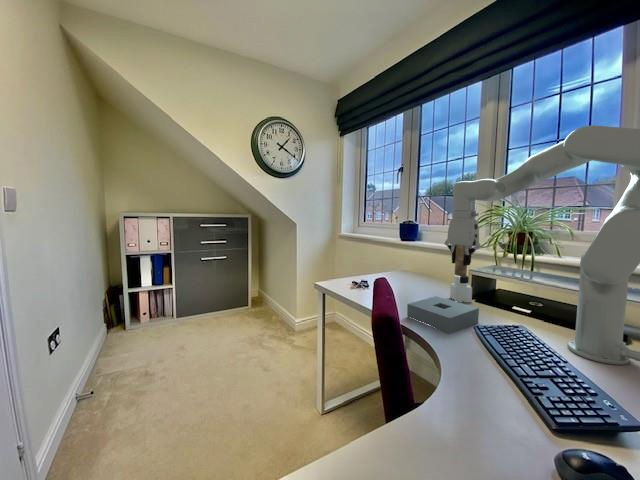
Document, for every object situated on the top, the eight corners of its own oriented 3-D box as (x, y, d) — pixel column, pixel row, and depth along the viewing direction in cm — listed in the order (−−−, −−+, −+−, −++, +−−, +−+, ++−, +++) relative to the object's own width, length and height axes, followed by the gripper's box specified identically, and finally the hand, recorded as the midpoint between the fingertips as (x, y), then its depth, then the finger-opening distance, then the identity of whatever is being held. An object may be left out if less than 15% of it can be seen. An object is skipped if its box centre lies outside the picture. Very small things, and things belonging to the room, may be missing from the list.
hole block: (478, 322, 103) (478, 308, 103) (449, 333, 94) (449, 318, 93) (435, 308, 118) (436, 296, 118) (407, 317, 109) (407, 303, 108)
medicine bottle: (465, 297, 133) (466, 273, 132) (471, 302, 126) (472, 276, 125) (449, 297, 134) (450, 273, 133) (455, 302, 127) (456, 276, 125)
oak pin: (468, 275, 104) (470, 243, 102) (462, 276, 102) (464, 244, 100) (458, 273, 107) (460, 242, 106) (452, 274, 105) (453, 243, 104)
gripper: (492, 215, 97) (489, 267, 99) (449, 215, 111) (447, 259, 113) (480, 215, 93) (477, 269, 95) (437, 215, 107) (435, 261, 109)
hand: (460, 263), depth 104 cm, fingers closed on oak pin, 4 cm apart
